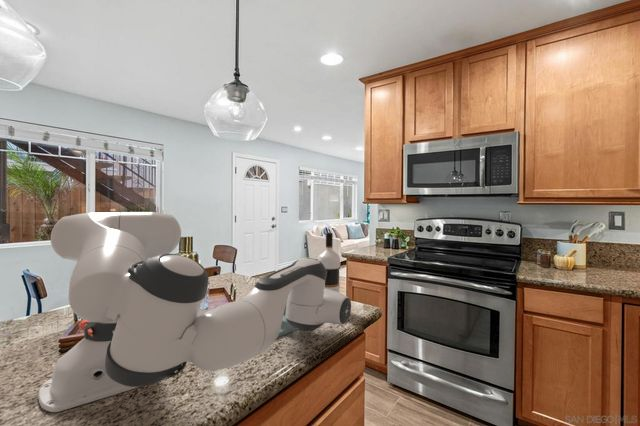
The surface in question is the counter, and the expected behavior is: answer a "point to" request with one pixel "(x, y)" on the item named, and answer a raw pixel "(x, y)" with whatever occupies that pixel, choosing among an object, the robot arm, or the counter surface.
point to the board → (285, 326)
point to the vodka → (330, 264)
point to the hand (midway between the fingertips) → (277, 288)
